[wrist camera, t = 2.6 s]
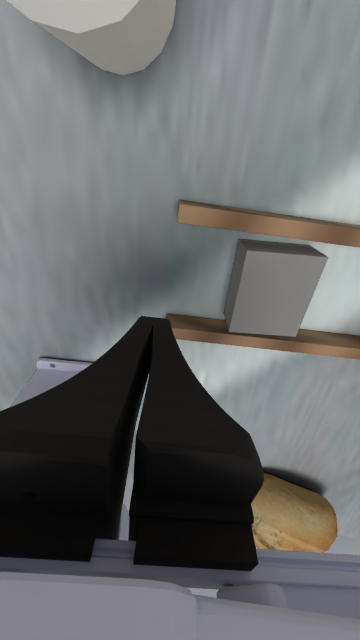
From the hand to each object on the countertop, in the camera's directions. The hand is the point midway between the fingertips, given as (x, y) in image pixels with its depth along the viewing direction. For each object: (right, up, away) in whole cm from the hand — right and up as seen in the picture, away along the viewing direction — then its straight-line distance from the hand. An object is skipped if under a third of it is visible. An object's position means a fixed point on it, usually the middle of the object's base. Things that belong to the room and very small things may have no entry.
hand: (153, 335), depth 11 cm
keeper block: (+8, +4, +8) cm, 11 cm away
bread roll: (+16, -23, +25) cm, 38 cm away
